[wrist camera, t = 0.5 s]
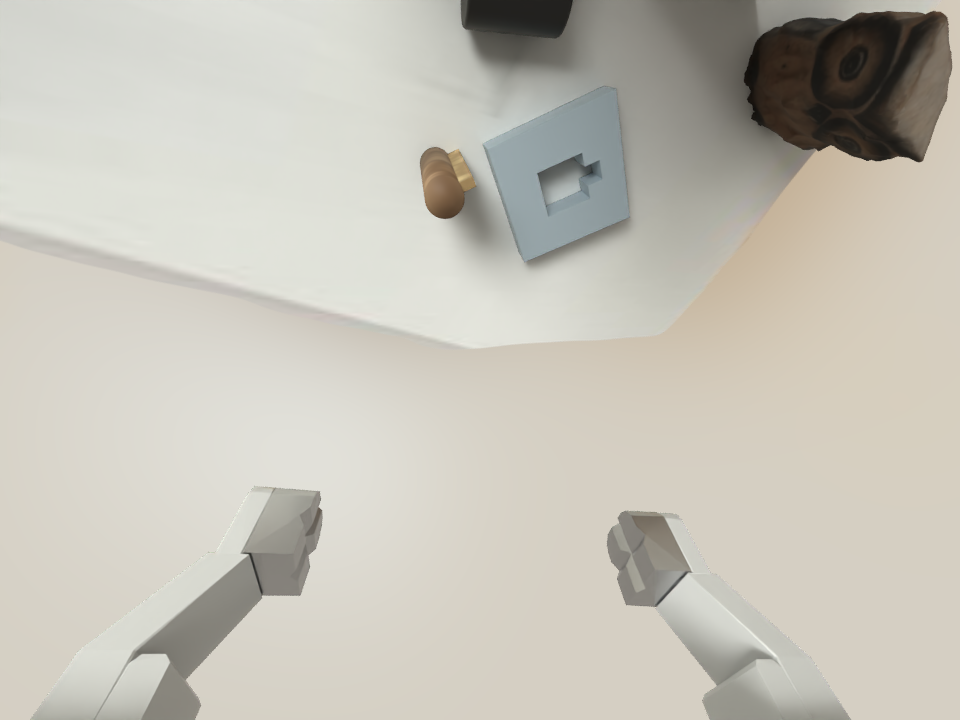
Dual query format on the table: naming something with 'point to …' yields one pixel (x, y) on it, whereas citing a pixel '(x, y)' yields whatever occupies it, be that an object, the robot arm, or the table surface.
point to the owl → (853, 82)
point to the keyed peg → (444, 181)
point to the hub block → (547, 142)
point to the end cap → (517, 16)
